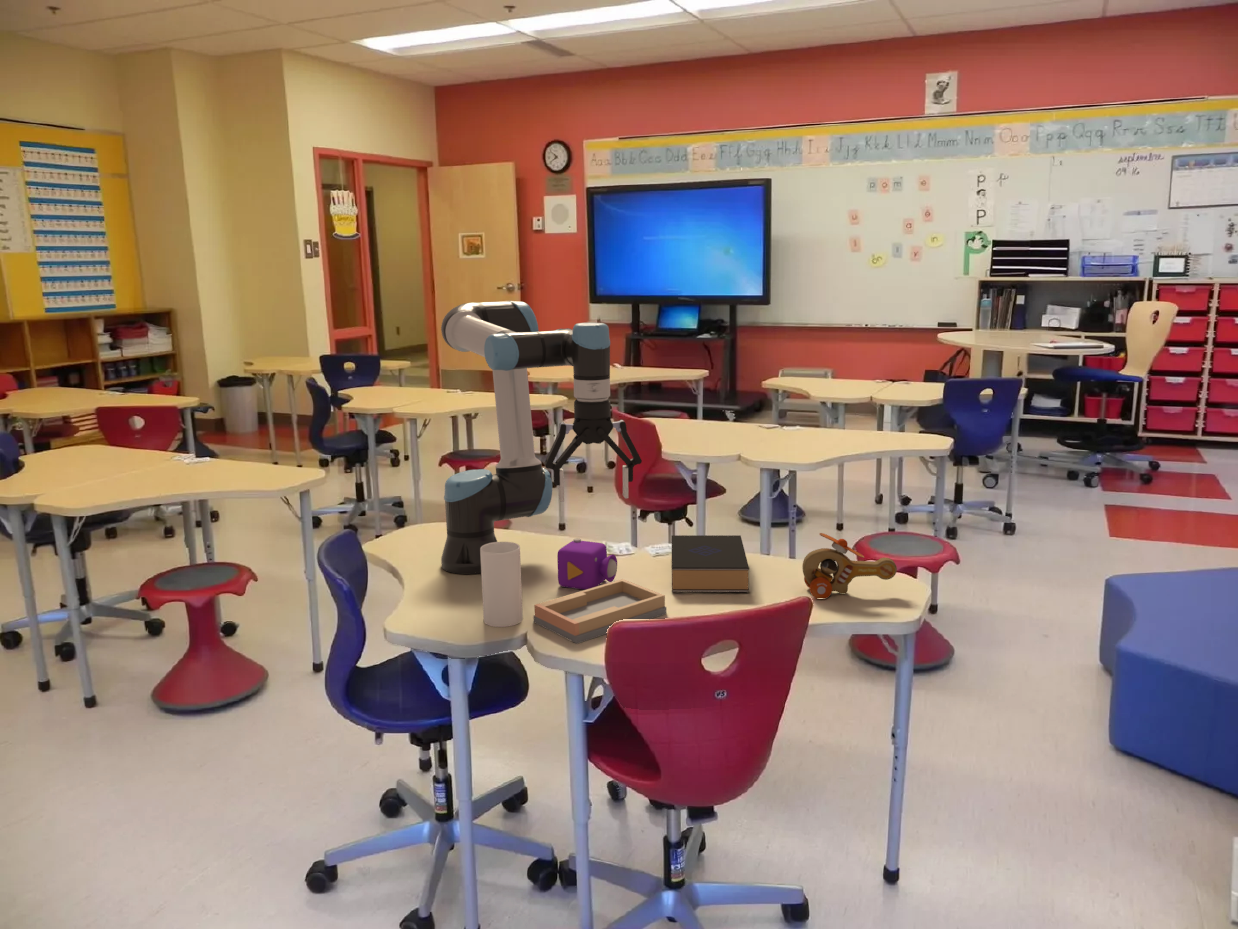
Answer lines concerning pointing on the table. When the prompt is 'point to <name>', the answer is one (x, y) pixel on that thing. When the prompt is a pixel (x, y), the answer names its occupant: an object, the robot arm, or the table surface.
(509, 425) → the robot arm
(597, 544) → the toy camera
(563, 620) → the board
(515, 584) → the cup
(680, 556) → the book
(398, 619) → the table surface
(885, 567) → the toy helicopter
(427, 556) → the table surface
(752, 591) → the table surface
